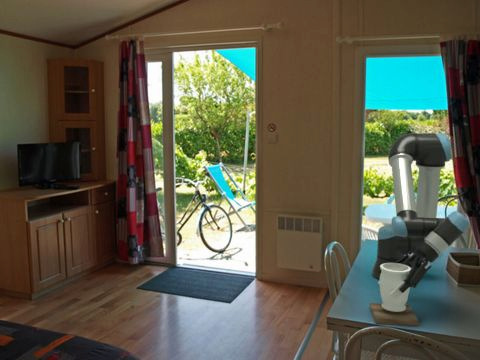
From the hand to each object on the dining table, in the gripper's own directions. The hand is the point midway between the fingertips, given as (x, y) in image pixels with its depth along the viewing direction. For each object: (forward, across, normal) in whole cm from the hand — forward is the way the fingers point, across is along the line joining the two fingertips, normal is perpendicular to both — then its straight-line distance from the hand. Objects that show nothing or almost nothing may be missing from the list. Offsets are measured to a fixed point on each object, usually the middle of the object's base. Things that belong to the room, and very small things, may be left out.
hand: (386, 291), depth 166 cm
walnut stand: (+5, 0, -9) cm, 10 cm away
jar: (+2, 0, -7) cm, 7 cm away
